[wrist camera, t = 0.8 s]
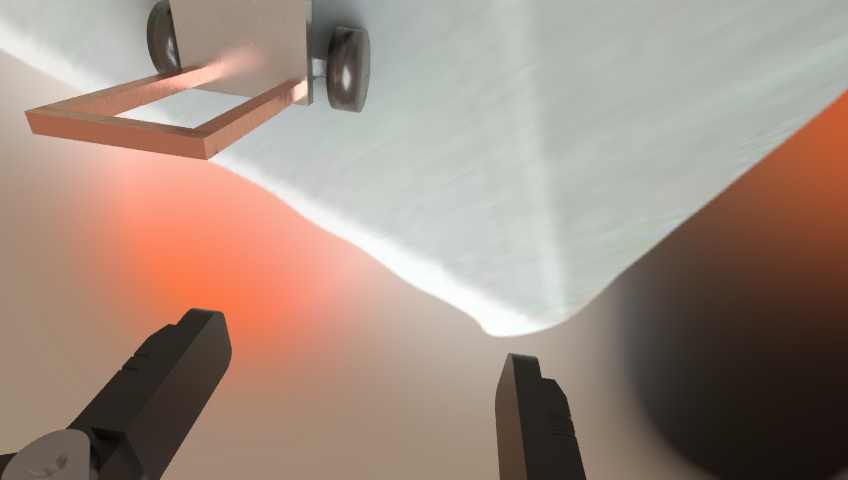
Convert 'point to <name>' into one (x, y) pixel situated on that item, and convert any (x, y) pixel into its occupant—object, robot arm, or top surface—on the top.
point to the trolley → (218, 75)
